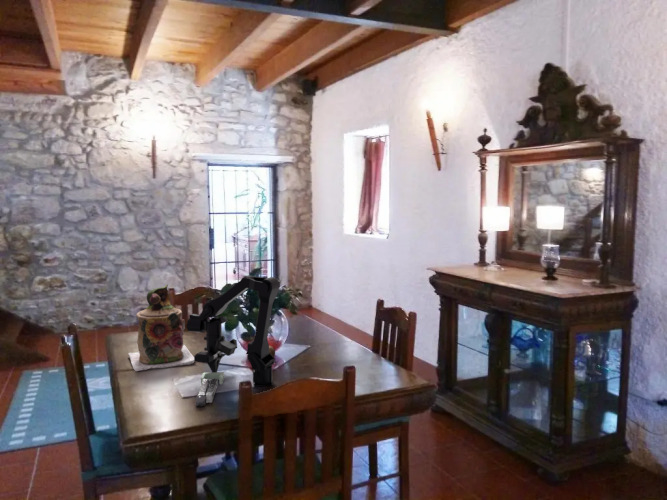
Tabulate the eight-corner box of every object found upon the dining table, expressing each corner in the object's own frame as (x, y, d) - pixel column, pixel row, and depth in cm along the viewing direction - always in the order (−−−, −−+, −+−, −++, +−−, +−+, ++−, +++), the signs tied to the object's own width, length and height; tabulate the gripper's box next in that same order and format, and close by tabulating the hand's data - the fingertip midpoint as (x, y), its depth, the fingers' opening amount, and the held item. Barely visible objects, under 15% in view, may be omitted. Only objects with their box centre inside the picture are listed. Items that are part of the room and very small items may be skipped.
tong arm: (210, 385, 193) (210, 377, 193) (204, 406, 174) (204, 398, 174) (202, 385, 193) (202, 378, 193) (195, 406, 174) (195, 398, 173)
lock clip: (224, 378, 201) (224, 372, 200) (222, 384, 195) (222, 377, 194) (203, 379, 200) (203, 372, 200) (200, 384, 194) (200, 378, 194)
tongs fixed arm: (217, 385, 194) (217, 378, 193) (211, 402, 177) (211, 395, 177) (212, 385, 193) (211, 378, 193) (205, 402, 177) (205, 395, 177)
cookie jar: (127, 356, 229) (124, 283, 225) (185, 349, 240) (183, 279, 237) (134, 373, 207) (132, 292, 204) (198, 364, 218) (196, 287, 215)
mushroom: (268, 348, 231) (265, 339, 226) (280, 358, 226) (278, 349, 222) (253, 359, 227) (251, 350, 223) (265, 370, 222) (263, 361, 218)
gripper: (219, 342, 190) (220, 384, 192) (244, 329, 208) (245, 368, 209) (192, 339, 194) (193, 380, 195) (219, 327, 211) (220, 365, 213)
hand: (214, 373), depth 203 cm, fingers closed
